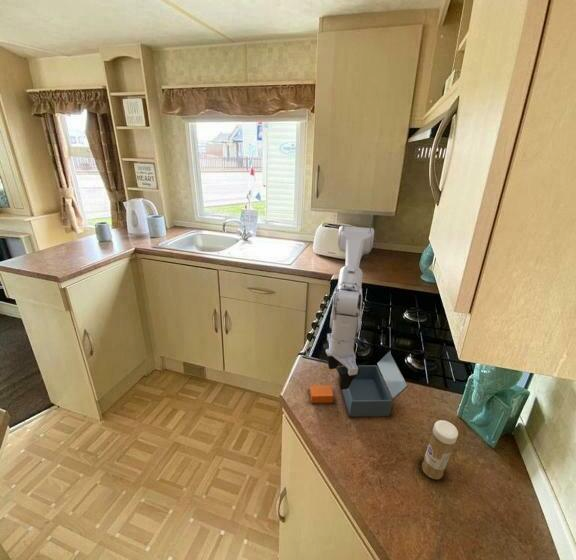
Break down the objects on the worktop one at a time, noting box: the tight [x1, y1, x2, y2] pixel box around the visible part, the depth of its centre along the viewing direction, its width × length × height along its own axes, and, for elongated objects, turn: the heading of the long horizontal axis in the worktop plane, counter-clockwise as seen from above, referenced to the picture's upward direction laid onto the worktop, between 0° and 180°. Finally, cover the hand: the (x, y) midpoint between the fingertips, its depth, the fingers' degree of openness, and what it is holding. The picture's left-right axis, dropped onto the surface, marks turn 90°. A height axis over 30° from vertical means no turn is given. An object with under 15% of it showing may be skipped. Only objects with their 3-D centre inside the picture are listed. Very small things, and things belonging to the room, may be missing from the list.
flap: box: [376, 351, 409, 400], centre depth 86 cm, size 14×5×1 cm
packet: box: [309, 385, 334, 404], centre depth 88 cm, size 6×4×2 cm, turn 93°
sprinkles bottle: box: [421, 419, 459, 480], centre depth 67 cm, size 5×5×14 cm
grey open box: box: [340, 364, 394, 418], centre depth 88 cm, size 14×11×5 cm
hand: (338, 377), depth 83 cm, fingers open, 7 cm apart
